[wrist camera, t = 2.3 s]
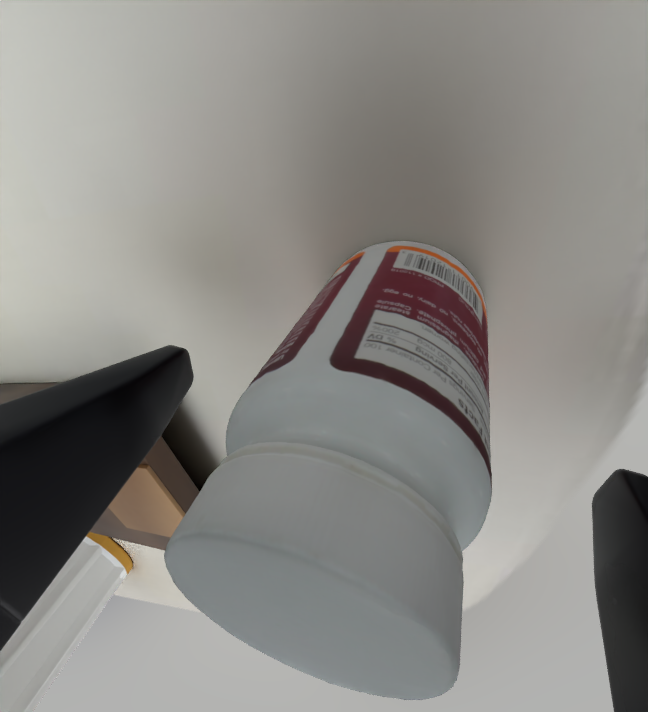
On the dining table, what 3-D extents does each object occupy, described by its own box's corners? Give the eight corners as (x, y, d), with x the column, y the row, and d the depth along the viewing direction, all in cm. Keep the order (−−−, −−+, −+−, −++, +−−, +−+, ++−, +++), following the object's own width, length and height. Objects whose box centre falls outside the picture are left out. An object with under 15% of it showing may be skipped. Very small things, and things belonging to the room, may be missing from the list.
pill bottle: (354, 384, 13) (236, 661, 7) (305, 259, 11) (68, 500, 5) (500, 371, 11) (519, 760, 5) (474, 213, 9) (448, 543, 3)
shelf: (169, 380, 17) (69, 476, 13) (251, 514, 22) (197, 615, 18) (-102, 386, 29) (-196, 436, 25) (-10, 471, 34) (-77, 525, 30)
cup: (49, 534, 40) (-163, 756, 27) (34, 488, 33) (-268, 765, 20) (141, 586, 40) (-28, 835, 27) (146, 552, 33) (-82, 874, 20)
